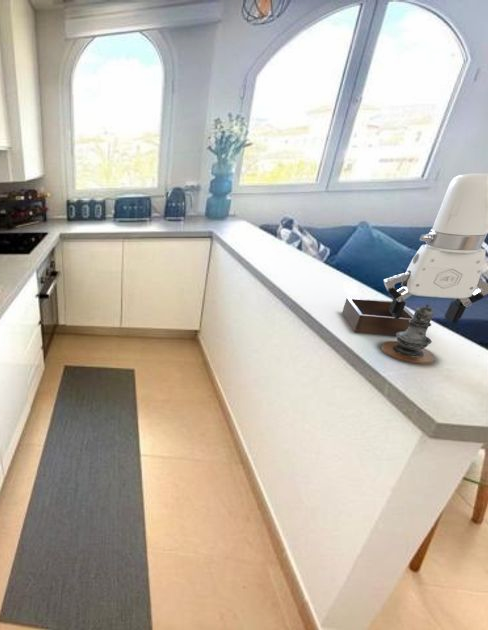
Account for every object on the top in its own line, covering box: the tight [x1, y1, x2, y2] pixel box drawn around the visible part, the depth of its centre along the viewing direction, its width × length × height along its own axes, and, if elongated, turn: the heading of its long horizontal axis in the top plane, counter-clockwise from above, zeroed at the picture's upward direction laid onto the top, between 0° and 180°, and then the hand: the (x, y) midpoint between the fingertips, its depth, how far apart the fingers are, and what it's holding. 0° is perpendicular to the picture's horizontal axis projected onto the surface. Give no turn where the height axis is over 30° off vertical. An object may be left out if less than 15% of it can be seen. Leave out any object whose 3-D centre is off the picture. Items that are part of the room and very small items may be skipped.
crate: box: [341, 297, 414, 338], centre depth 91 cm, size 12×12×5 cm
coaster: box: [380, 340, 436, 365], centre depth 79 cm, size 9×9×1 cm
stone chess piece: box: [393, 303, 435, 357], centre depth 76 cm, size 6×6×12 cm
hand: (421, 318), depth 75 cm, fingers open, 9 cm apart
